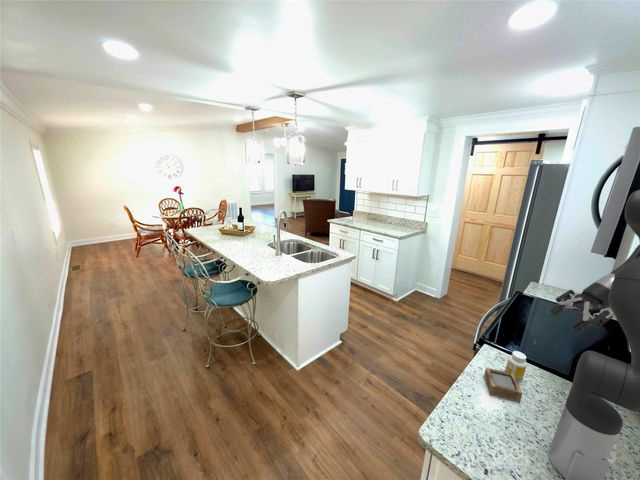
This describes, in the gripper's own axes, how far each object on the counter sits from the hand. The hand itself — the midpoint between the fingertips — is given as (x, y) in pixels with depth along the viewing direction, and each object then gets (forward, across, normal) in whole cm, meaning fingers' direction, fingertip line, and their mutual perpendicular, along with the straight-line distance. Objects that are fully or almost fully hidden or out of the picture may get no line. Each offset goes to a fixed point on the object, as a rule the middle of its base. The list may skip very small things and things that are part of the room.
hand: (561, 320), depth 88 cm
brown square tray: (+30, +7, +2) cm, 31 cm away
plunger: (+28, +7, 0) cm, 29 cm away
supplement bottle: (+25, +1, +8) cm, 26 cm away
